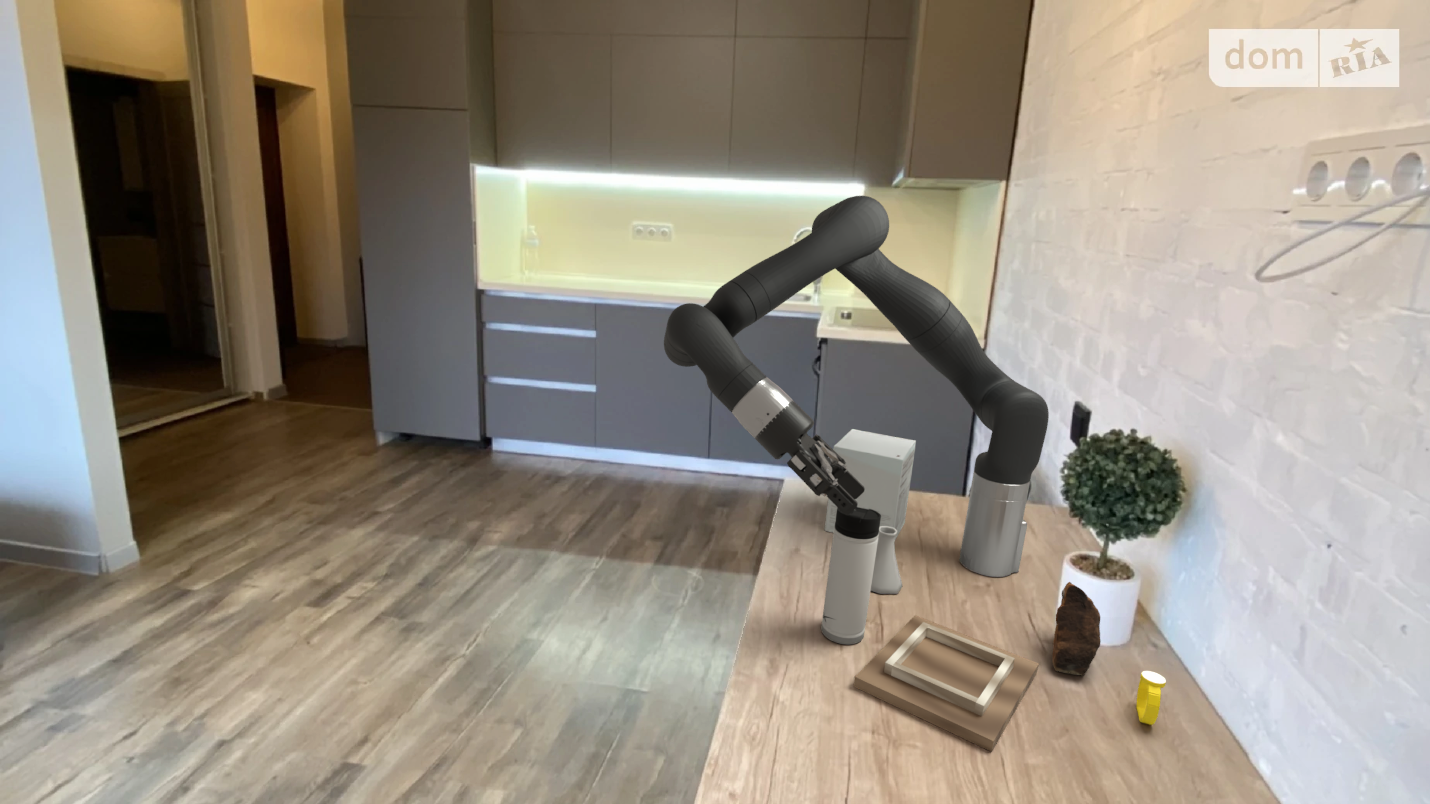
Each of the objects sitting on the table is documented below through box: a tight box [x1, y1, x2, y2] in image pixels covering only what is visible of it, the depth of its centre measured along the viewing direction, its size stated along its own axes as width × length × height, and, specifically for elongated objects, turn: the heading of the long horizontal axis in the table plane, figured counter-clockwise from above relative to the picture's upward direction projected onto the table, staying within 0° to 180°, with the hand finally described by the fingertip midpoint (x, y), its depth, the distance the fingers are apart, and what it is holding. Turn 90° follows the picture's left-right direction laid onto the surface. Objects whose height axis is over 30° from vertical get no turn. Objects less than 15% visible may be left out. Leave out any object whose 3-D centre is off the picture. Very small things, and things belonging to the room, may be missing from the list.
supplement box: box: [824, 428, 917, 540], centre depth 144 cm, size 13×13×18 cm
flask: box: [870, 526, 903, 595], centre depth 123 cm, size 7×7×10 cm
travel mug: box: [820, 507, 881, 645], centre depth 107 cm, size 6×7×20 cm
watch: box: [1135, 670, 1167, 726], centre depth 95 cm, size 6×3×6 cm, turn 158°
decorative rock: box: [1051, 581, 1102, 677], centre depth 106 cm, size 12×6×11 cm, turn 152°
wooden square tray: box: [853, 614, 1040, 753], centre depth 100 cm, size 20×18×3 cm
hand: (857, 502), depth 101 cm, fingers open, 8 cm apart
